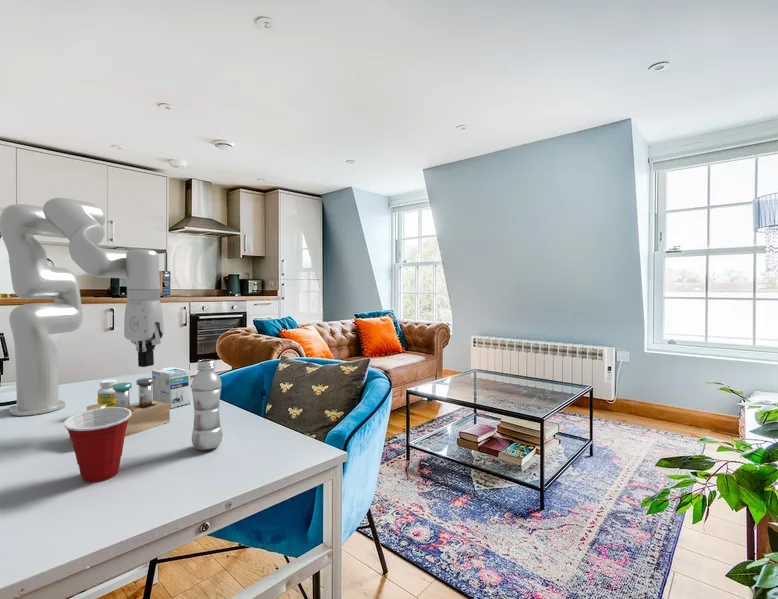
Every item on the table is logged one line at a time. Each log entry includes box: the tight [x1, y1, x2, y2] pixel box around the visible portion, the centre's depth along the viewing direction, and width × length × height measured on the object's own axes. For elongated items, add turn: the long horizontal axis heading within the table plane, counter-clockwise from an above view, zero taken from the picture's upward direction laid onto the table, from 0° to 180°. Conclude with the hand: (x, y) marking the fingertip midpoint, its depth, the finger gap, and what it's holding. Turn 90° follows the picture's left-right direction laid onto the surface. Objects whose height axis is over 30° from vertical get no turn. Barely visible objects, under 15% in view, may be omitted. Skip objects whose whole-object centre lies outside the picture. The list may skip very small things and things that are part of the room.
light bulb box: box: [151, 366, 192, 409], centre depth 129 cm, size 11×7×11 cm, turn 58°
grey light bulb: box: [135, 377, 154, 409], centre depth 110 cm, size 4×4×8 cm
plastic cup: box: [63, 407, 132, 483], centre depth 80 cm, size 11×11×12 cm
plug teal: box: [113, 382, 132, 410], centre depth 104 cm, size 4×4×8 cm
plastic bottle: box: [190, 358, 224, 451], centre depth 94 cm, size 6×7×20 cm
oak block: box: [68, 399, 171, 444], centre depth 105 cm, size 8×20×5 cm, turn 154°
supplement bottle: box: [97, 379, 118, 407], centre depth 119 cm, size 5×5×10 cm
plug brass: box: [86, 403, 107, 411], centre depth 99 cm, size 4×4×8 cm
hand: (146, 365), depth 109 cm, fingers closed
